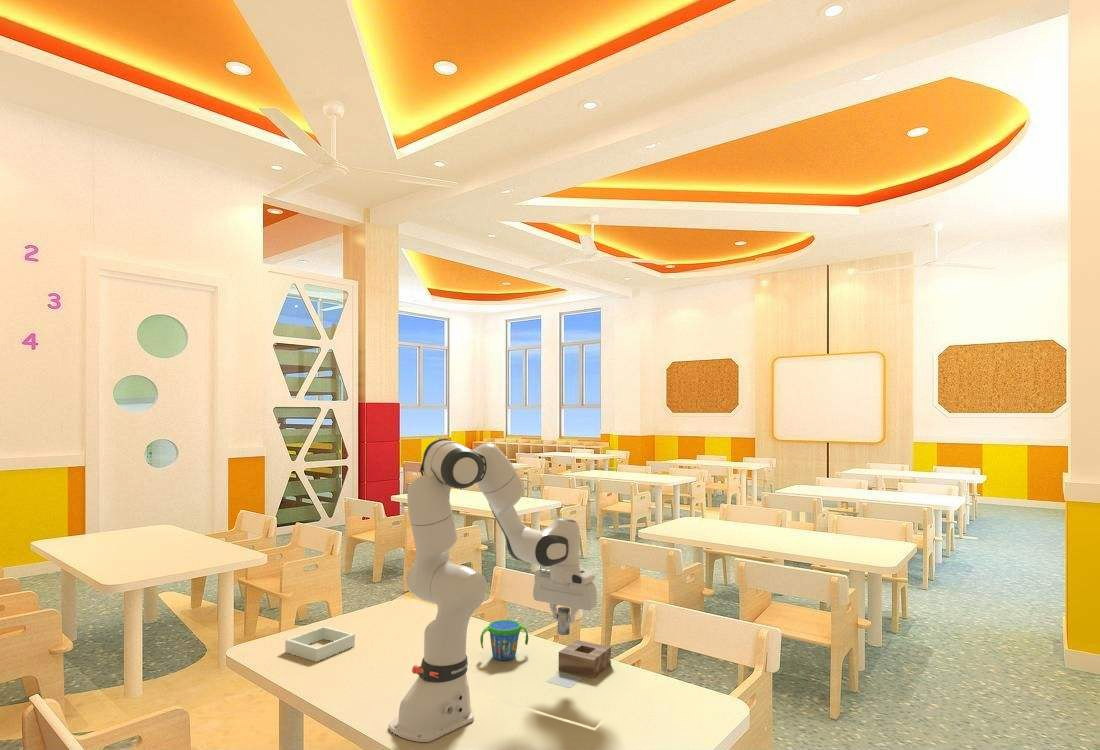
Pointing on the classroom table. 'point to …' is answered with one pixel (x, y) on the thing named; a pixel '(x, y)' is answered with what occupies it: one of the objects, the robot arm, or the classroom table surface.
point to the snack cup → (504, 638)
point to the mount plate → (564, 679)
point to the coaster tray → (304, 650)
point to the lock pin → (563, 621)
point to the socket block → (584, 658)
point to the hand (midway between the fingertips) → (563, 620)
